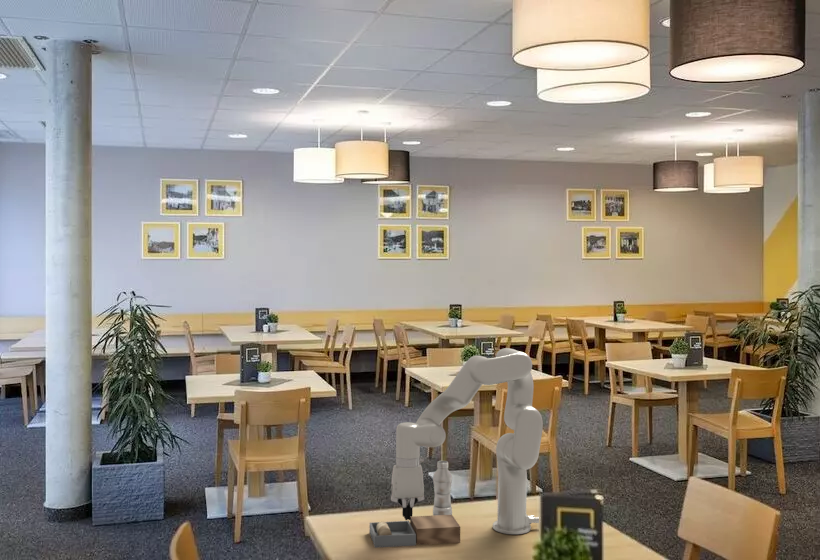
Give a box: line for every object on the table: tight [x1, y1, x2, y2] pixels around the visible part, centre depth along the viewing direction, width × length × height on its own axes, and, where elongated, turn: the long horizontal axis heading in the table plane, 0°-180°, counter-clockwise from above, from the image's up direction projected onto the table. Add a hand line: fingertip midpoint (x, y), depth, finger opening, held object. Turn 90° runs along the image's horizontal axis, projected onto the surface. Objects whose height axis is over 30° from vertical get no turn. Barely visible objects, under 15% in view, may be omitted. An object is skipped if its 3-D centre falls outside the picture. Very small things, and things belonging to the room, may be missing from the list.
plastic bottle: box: [432, 460, 453, 516], centre depth 280 cm, size 6×7×20 cm
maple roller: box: [376, 521, 392, 536], centre depth 261 cm, size 4×8×4 cm
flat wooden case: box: [409, 514, 461, 546], centre depth 264 cm, size 14×12×5 cm
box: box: [369, 520, 417, 549], centre depth 261 cm, size 13×13×4 cm
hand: (407, 518), depth 262 cm, fingers closed
